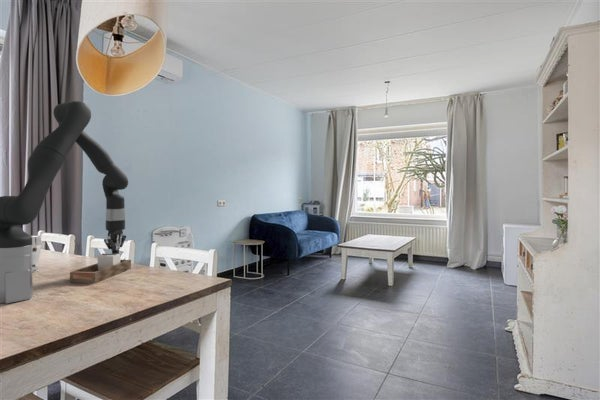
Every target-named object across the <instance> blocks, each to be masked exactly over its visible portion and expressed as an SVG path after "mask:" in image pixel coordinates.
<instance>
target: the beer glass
mask: <svg viewBox="0 0 600 400" xmlns="http://www.w3.org/2000/svg"><path fill="white" fill-rule="evenodd" d="M30 236H31V237H32V273H36V272H39V271H41V269H40V263H39V260H40V255H41V249H42V242H41V235H30Z"/></svg>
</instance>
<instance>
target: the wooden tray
mask: <svg viewBox="0 0 600 400" xmlns="http://www.w3.org/2000/svg"><path fill="white" fill-rule="evenodd" d="M129 270H132V259H120V263H118V264H115V265H113V266H110V267H107V268H104V269H102V270H98V262H97V263H94V264H90V265H87V266H85V267H82V268H78V269H75V270H73V271H70V272H69V283H71V284H72V283H73V284H97V283H100V282H102V281H104V280H107V279H109V278H112V277H115V276H117V275H119V274H121V273H124V272H127V271H129Z"/></svg>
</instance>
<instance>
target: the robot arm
mask: <svg viewBox="0 0 600 400" xmlns="http://www.w3.org/2000/svg"><path fill="white" fill-rule="evenodd" d="M53 117H54V119H55V121H56V122H57V124H59V125H58V126H57V127H56V128H55V129H54V130H53V131H51V132H49V134H48V135H47V136H45V137H44V138H43V139H41V140H40V141H39V142H38V144H36V146H35V148H34V149H33V151H32V152H31V153H30V155H29V158H28V160H27V172H28V173H27V174H28V178H27V181H26V184H25V185H24V187H23V188H22V190H21V192H20V193H19V194H18V195H3V196H0V304H10V303H17V302H21V301H26V300H31V298H32V297H33V294H34V293H33V292H34V291H33V289H34V287H33V285H34V284H33V283H34V282H33V272H32V237H31V236H32V235H31V234H29V233H27V232H25V231H24V230H23V227H22V226H25V225H29V224H31V223H32V222H33V221H35V220H36V218H37V217H38V215H39V213H40V211H41V209H42V207H43V204H44V202H45V199H46V196H47V194H48V192H49V189H50V187H51V185H52V184H53V182H54V180H55V178H56V176H57V175H58V172H59V171H60V170H61V168H62V166H63V165H64V163H65V161H66V159H67V157H68V155H69V153H70V151H71V150H72V148H73V147H74V145H75V143H76V145H78V146H79V147H80V148H81V150H82V151H83V152H84V153H85V155H86V156H87V158H89V160H90V162H91V163H92V165H93V166H94V168H95V169H96V170H97V172H98V173H100V174H103V175H104V177H103V179H102V189H103V193H104V196H105V200H106V201H105V202H106V207H105V208H106V209H105V230H106V231H108V233H107V237H106V238H103V242H104V243H105V246H106V247H107V249H108V250H111V254H120V250H121V248H122V247H123V245H124V243H125V241H126V238H127V235H125V234H124V232H123V231H124V230H126V211H125V197H124V196H123V195H120V193H119V191H121V190H125V189H127V187H128V186H129V179H128V176H127V175H126V174H125V173H124V171H123V170H121V168H120V167H119V166H117V164H116V163H115V162H114V160H113V159H112V158H111V156H110V154H109V153H108V151H107V149H105V148H104V147H103V146H102V145H101V144H100V143H98V142H97V141H96V140H95V139H93V138H92V137H91V136H90V135H89V134H88V133H87V132H86V131H85V129H86V127H87V126H88V124H89V123H90V121H91V118H92V111H91V108H90V107H89V105H88V104H86V103H85V102H83V101H79V100H75V101H67V102H62V103H58V104H57V105H55V107H54V108H53Z"/></svg>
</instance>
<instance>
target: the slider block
mask: <svg viewBox="0 0 600 400" xmlns="http://www.w3.org/2000/svg"><path fill="white" fill-rule="evenodd" d="M120 260H121V253H119V254H112V253H101V254H98V255H97V263H98V270H102V269H104V268H107V267H110V266H113V265H115V264H118V263H120Z"/></svg>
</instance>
